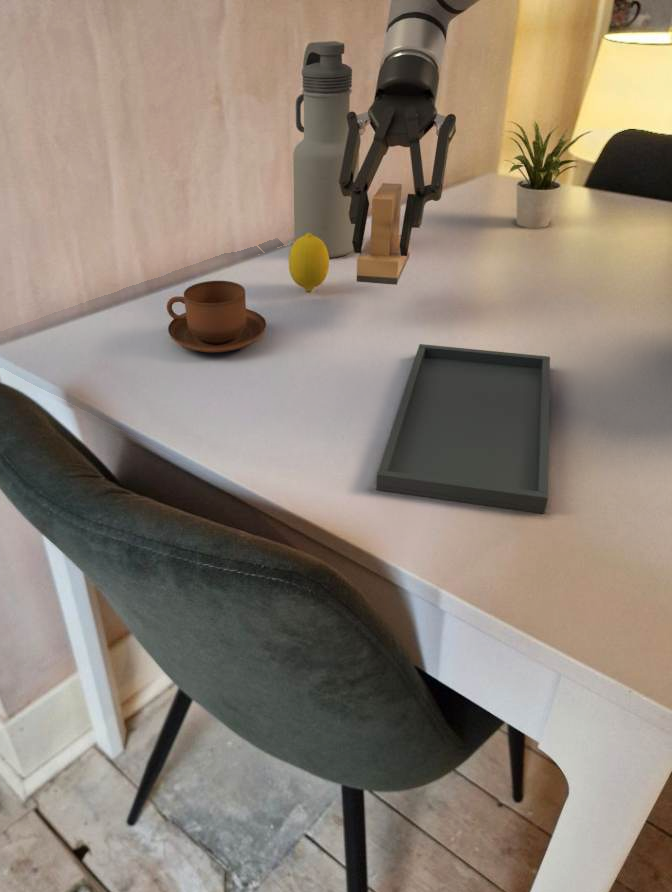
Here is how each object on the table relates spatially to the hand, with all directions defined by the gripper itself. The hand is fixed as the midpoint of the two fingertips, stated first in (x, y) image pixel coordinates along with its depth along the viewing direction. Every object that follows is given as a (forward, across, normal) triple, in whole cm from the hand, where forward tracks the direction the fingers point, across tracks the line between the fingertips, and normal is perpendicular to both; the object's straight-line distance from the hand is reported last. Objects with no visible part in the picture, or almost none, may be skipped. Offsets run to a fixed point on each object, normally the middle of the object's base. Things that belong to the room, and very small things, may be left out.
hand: (379, 248), depth 92 cm
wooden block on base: (0, 0, -5) cm, 5 cm away
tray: (+23, -14, +9) cm, 28 cm away
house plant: (-26, -17, -40) cm, 51 cm away
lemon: (+1, +11, -13) cm, 17 cm away
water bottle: (-12, +13, -26) cm, 31 cm away
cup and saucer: (+13, +18, 0) cm, 23 cm away
